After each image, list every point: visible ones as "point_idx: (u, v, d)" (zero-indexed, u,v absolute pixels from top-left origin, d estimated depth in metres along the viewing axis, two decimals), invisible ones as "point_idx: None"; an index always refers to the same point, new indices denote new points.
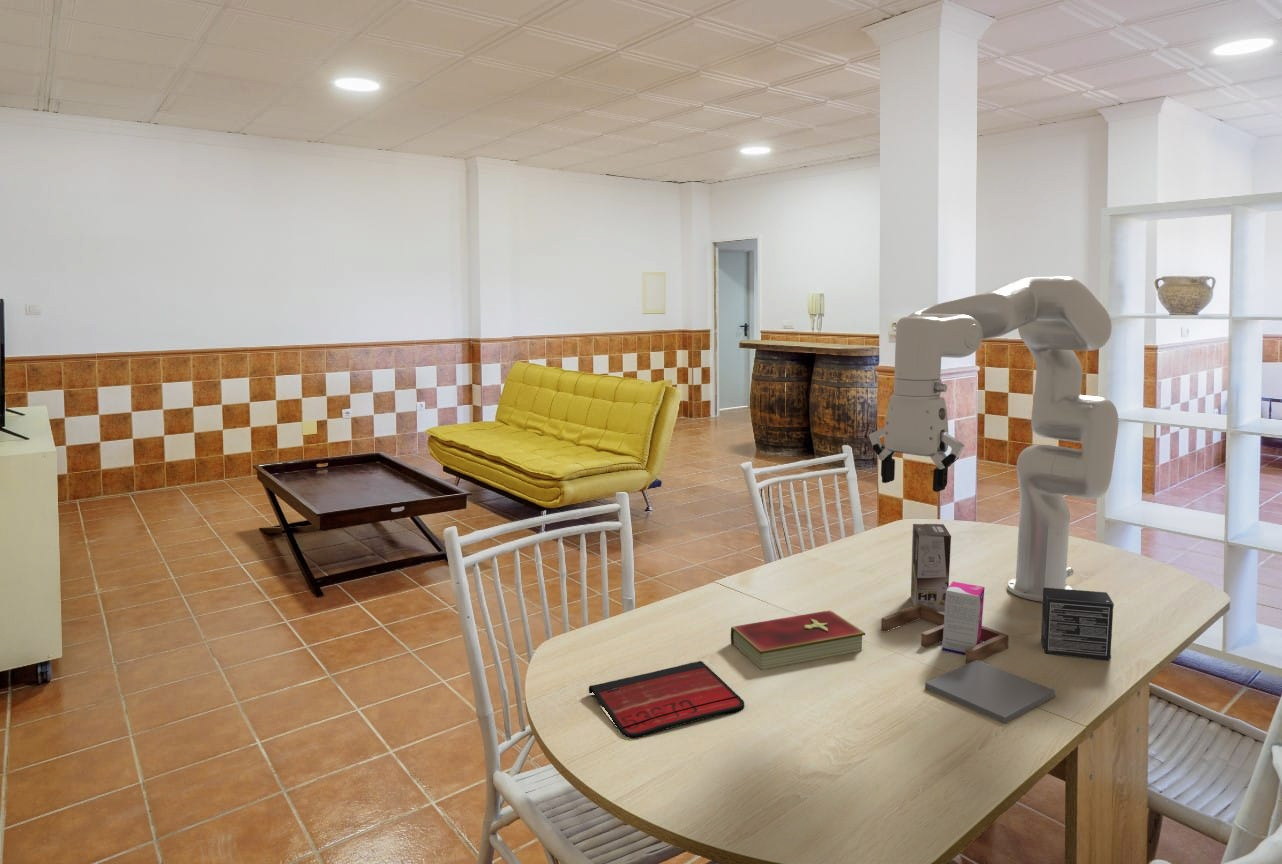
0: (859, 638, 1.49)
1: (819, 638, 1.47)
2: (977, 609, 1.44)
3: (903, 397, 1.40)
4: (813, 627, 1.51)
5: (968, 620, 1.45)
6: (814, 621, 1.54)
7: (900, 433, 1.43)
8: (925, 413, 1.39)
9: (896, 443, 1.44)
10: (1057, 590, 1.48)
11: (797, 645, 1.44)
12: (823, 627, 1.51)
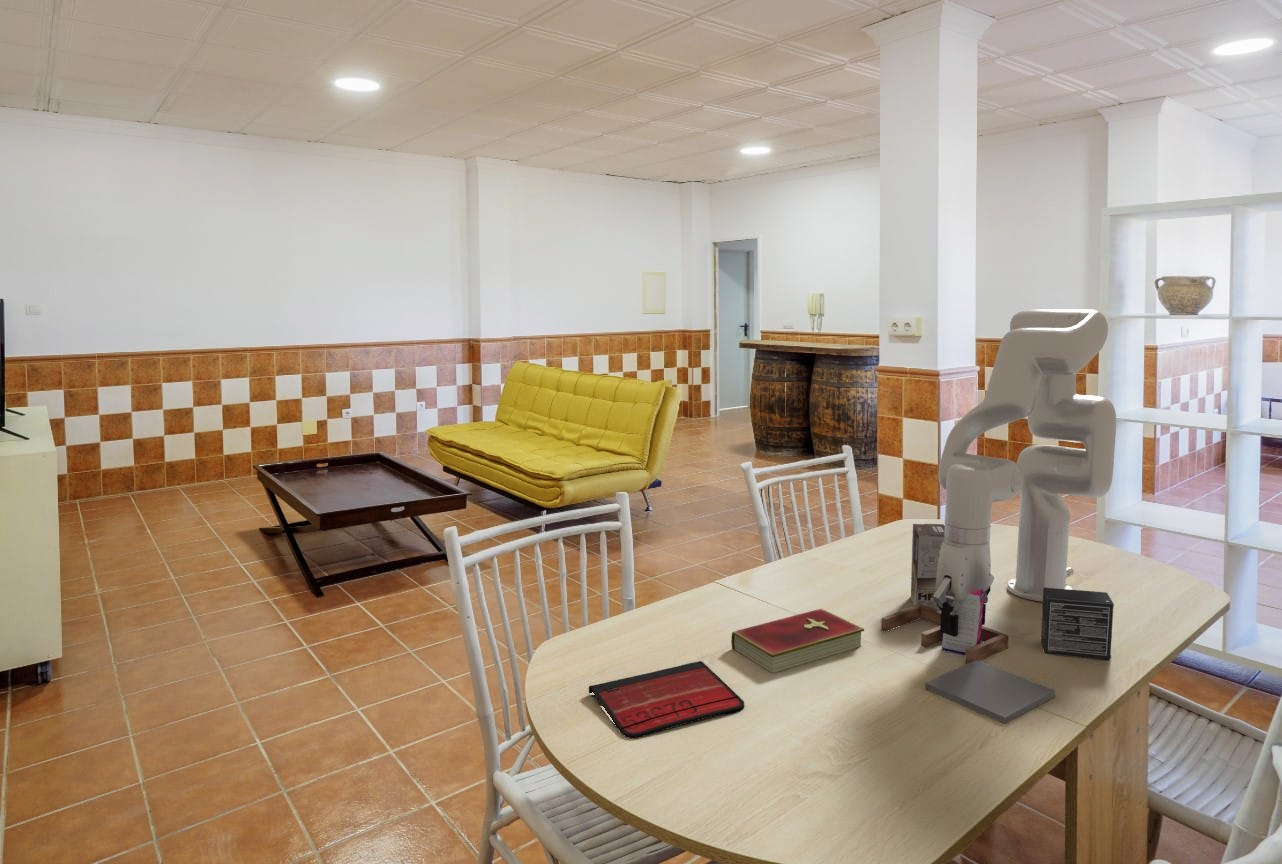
0: (859, 634, 1.51)
1: (823, 637, 1.47)
2: (977, 609, 1.44)
3: (984, 545, 1.43)
4: (813, 626, 1.51)
5: (968, 620, 1.45)
6: (811, 620, 1.54)
7: (972, 580, 1.44)
8: (987, 553, 1.46)
9: (967, 591, 1.44)
10: (1057, 590, 1.48)
11: (805, 646, 1.44)
12: (822, 626, 1.51)
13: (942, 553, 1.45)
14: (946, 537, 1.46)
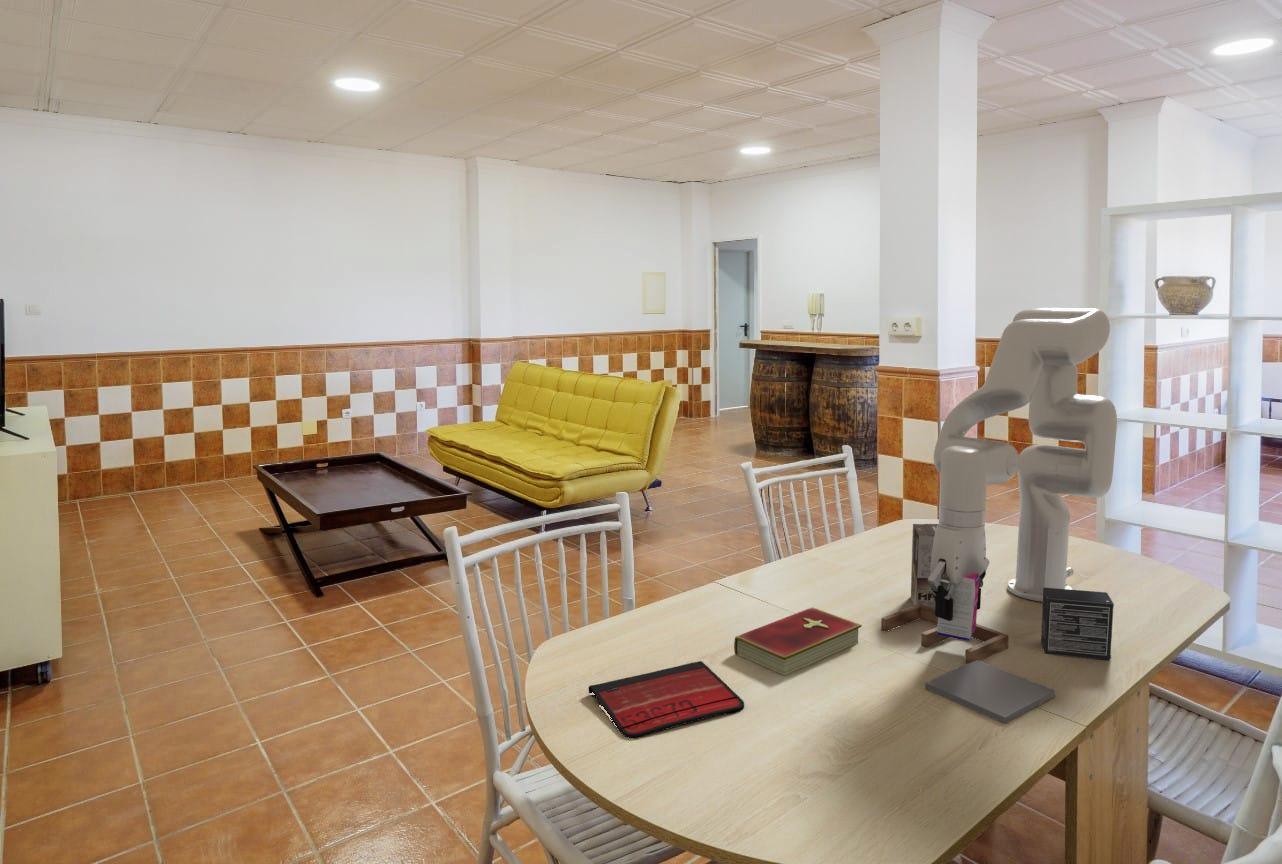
0: (856, 631, 1.52)
1: (826, 636, 1.48)
2: (972, 593, 1.43)
3: (979, 528, 1.41)
4: (812, 626, 1.52)
5: (963, 604, 1.44)
6: (808, 620, 1.54)
7: (967, 563, 1.43)
8: (982, 536, 1.45)
9: (962, 575, 1.43)
10: (1057, 590, 1.48)
11: (812, 646, 1.44)
12: (821, 624, 1.52)
13: (937, 536, 1.43)
14: (941, 520, 1.44)
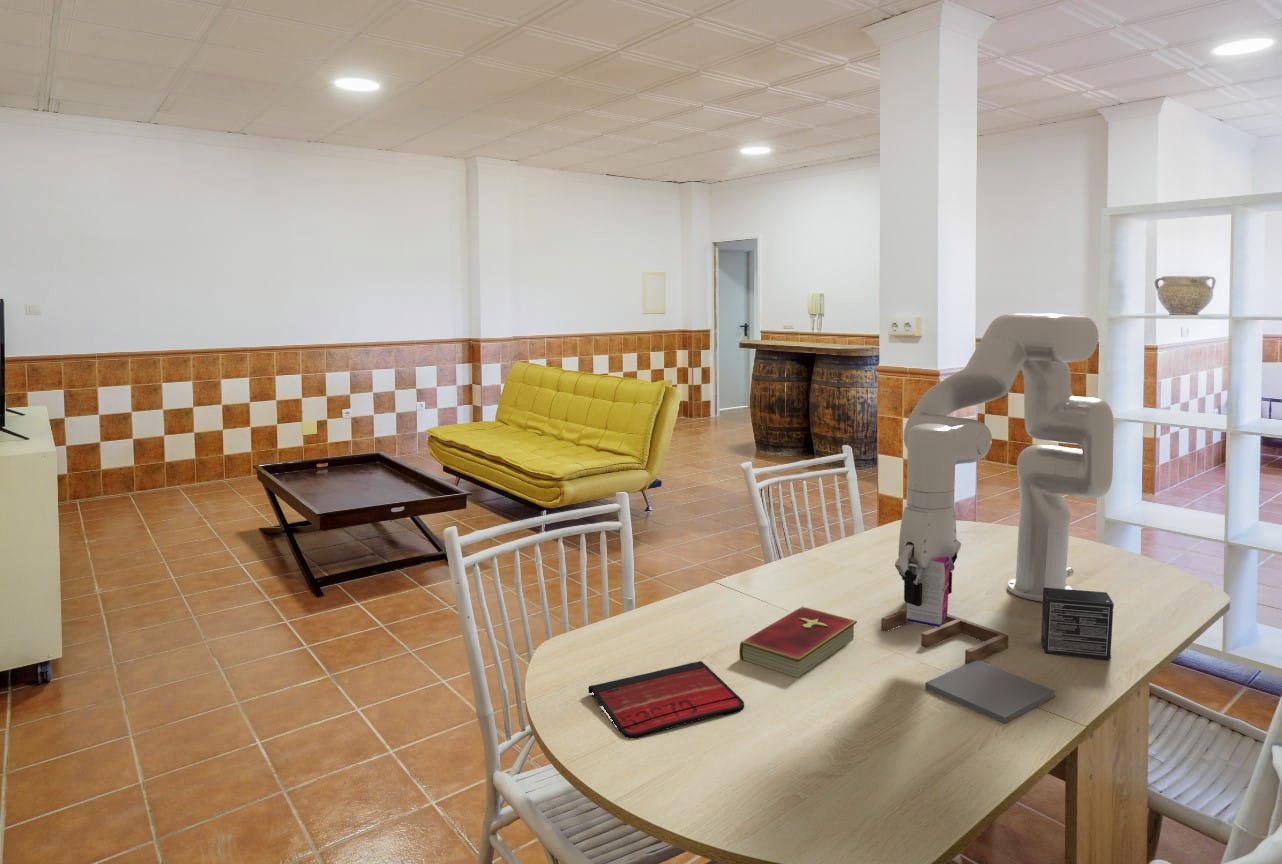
0: (852, 627, 1.54)
1: (828, 634, 1.48)
2: (941, 577, 1.37)
3: (948, 509, 1.35)
4: (811, 625, 1.52)
5: (932, 589, 1.38)
6: (805, 619, 1.54)
7: (936, 546, 1.37)
8: (952, 518, 1.39)
9: (931, 558, 1.37)
10: (1057, 590, 1.48)
11: (819, 645, 1.44)
12: (820, 623, 1.52)
13: (904, 519, 1.38)
14: (908, 502, 1.38)
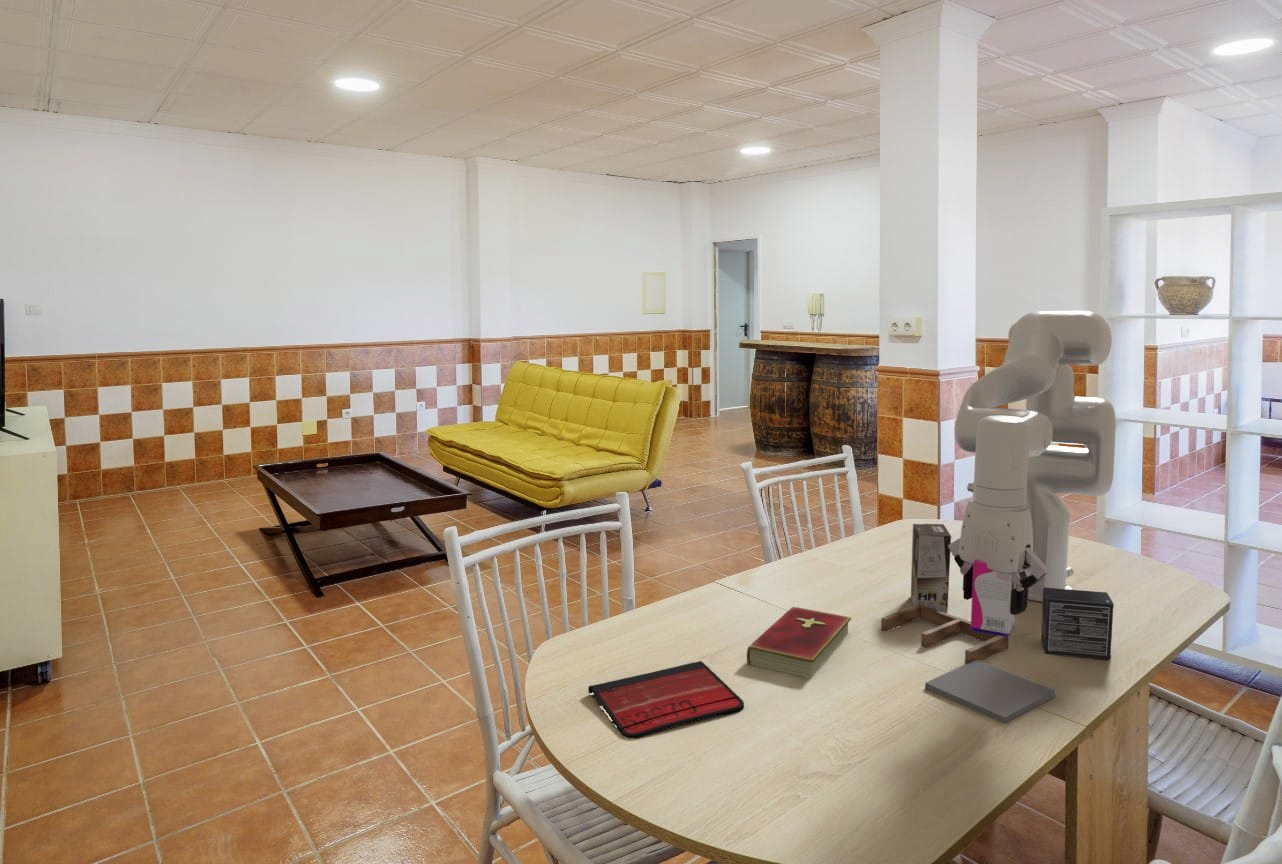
0: (847, 623, 1.56)
1: (830, 633, 1.49)
2: None
3: None
4: (810, 625, 1.52)
5: None
6: (802, 619, 1.55)
7: None
8: None
9: None
10: (1057, 590, 1.48)
11: (826, 644, 1.44)
12: (818, 622, 1.53)
13: (1021, 523, 1.24)
14: (1012, 505, 1.24)
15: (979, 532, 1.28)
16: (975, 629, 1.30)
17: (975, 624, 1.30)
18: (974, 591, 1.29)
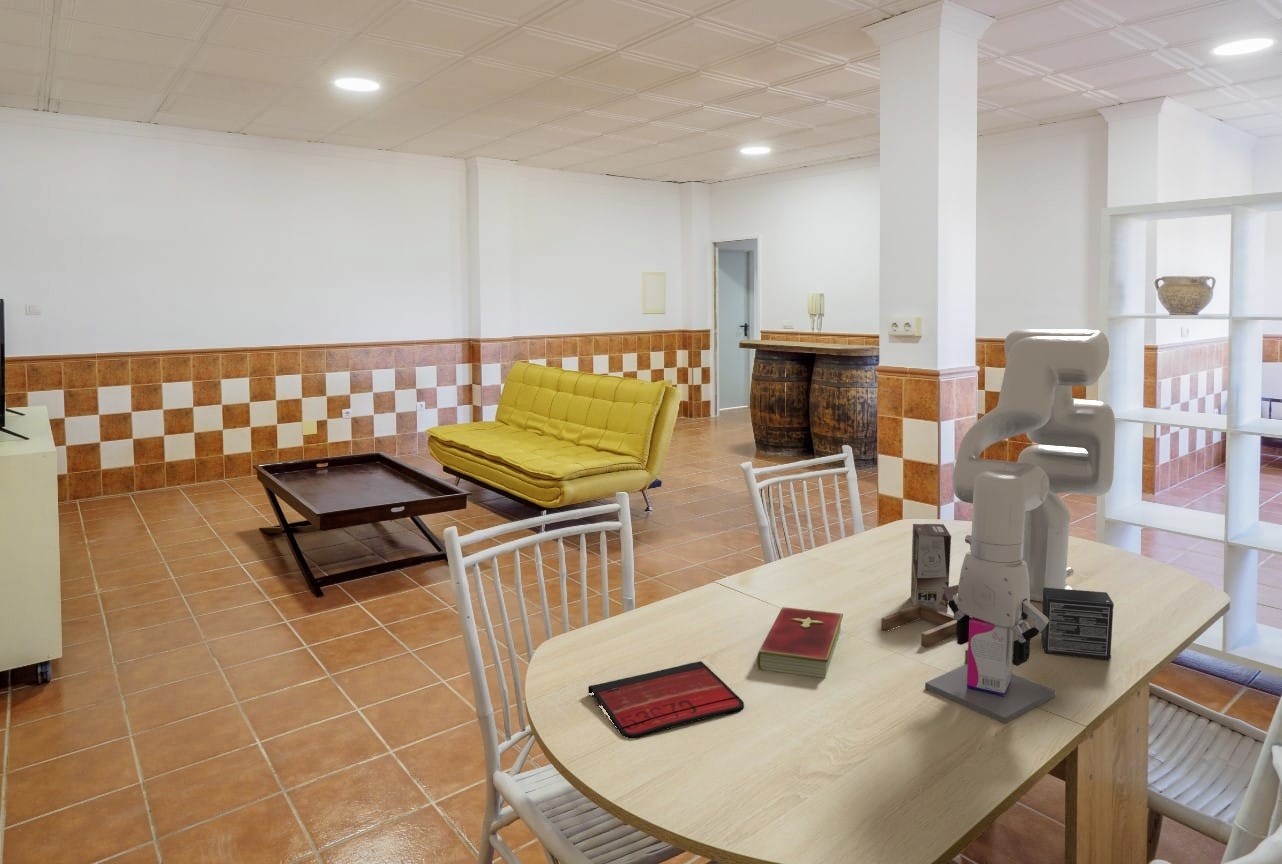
0: None
1: (831, 631, 1.50)
2: None
3: None
4: (808, 624, 1.52)
5: (1011, 647, 1.32)
6: (798, 619, 1.55)
7: None
8: None
9: None
10: (1057, 590, 1.48)
11: (833, 643, 1.45)
12: (815, 621, 1.54)
13: (1017, 578, 1.25)
14: (1009, 560, 1.25)
15: (976, 585, 1.29)
16: (971, 687, 1.32)
17: (971, 682, 1.32)
18: (970, 650, 1.31)
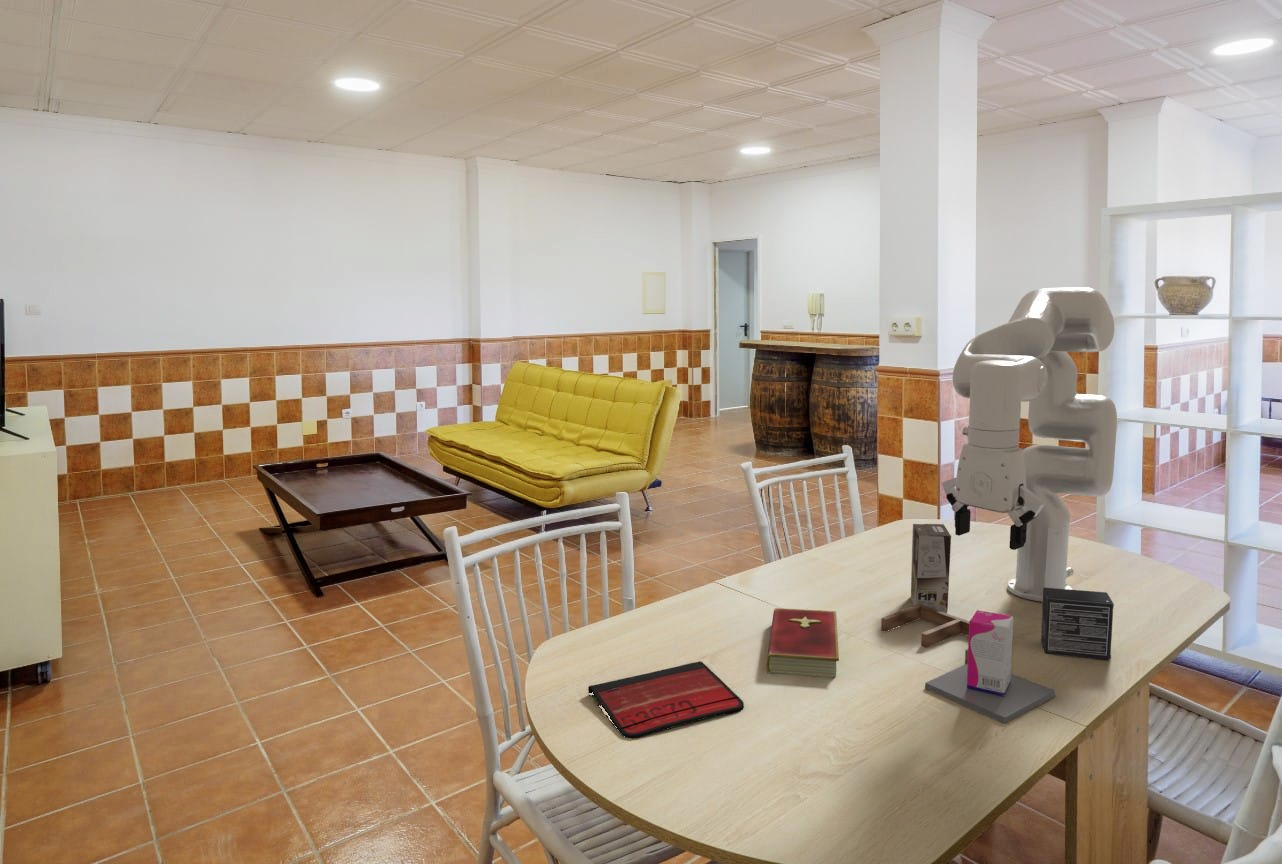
0: None
1: (831, 629, 1.50)
2: (1012, 630, 1.33)
3: None
4: (807, 624, 1.53)
5: (1011, 647, 1.32)
6: (796, 619, 1.54)
7: None
8: None
9: None
10: (1057, 590, 1.48)
11: (837, 641, 1.46)
12: (812, 620, 1.54)
13: (1014, 463, 1.28)
14: (1005, 445, 1.29)
15: (974, 473, 1.33)
16: (971, 687, 1.32)
17: (971, 682, 1.32)
18: (970, 650, 1.31)
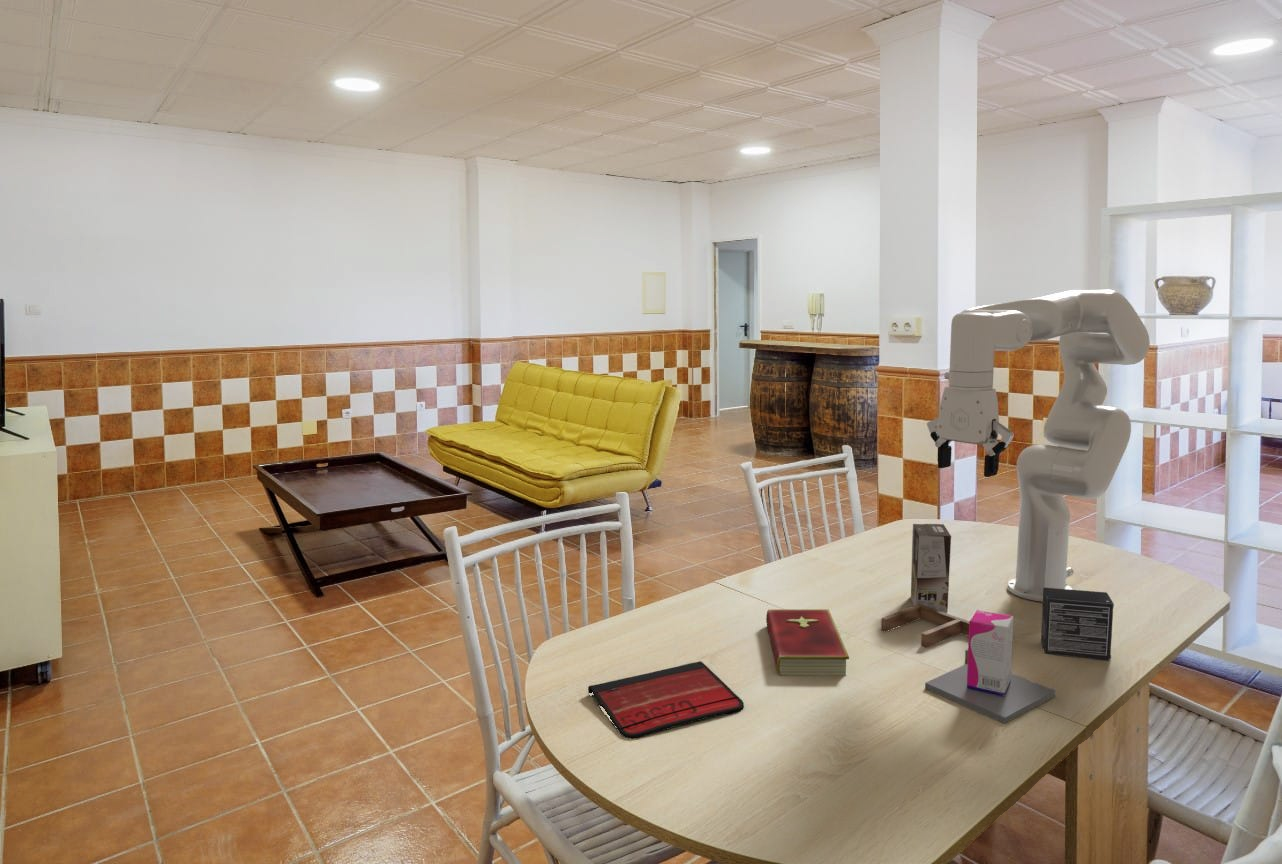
0: None
1: (831, 627, 1.51)
2: (1012, 630, 1.33)
3: None
4: (806, 624, 1.53)
5: (1011, 647, 1.32)
6: (794, 620, 1.54)
7: None
8: None
9: None
10: (1057, 590, 1.48)
11: (840, 639, 1.46)
12: (810, 620, 1.54)
13: (988, 400, 1.48)
14: (980, 385, 1.48)
15: (954, 411, 1.52)
16: (971, 687, 1.32)
17: (971, 682, 1.32)
18: (970, 650, 1.31)
